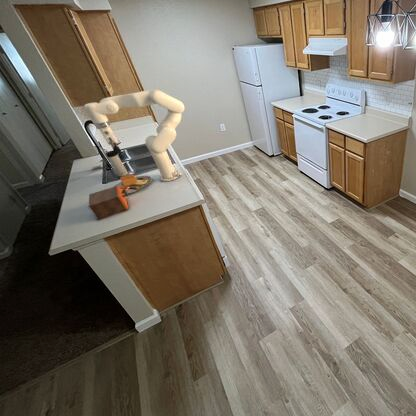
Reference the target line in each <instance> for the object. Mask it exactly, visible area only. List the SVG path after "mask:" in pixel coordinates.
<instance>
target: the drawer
mask: <svg viewBox="0 0 416 416" xmlns="http://www.w3.org/2000/svg"><path fill="white" fill-rule="evenodd" d="M117 193H118V198H119V199H120V201H121V202H122V204H123V205H124V207H125V209H126V210H129V205H128V199H127V197H128V196H129V193H128V194H127V191H126V190H125V191H124V192H122V190H121V188H120V187H119V186H117ZM124 193H125V194H124Z"/></svg>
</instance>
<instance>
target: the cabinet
mask: <svg viewBox="0 0 416 416" xmlns="http://www.w3.org/2000/svg"><path fill="white" fill-rule="evenodd" d="M114 186H115V185H114ZM114 186H112V187H109V188H105V189H102V190H99V191H96V192H92V193H89V194H88V208H89V209H90V210H91V211H92V213H93V214H94V216H95V217H96V218H97V220H99V221H100V220H102V219H103V220H104V219H105V218H108V217H112V216H114V215H117V214H121V213H123V212H125V211H127V209H125V207H124V205H123V204H122V202H121V201H120V199H119V198H118V193H117V186H115V187H114Z"/></svg>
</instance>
